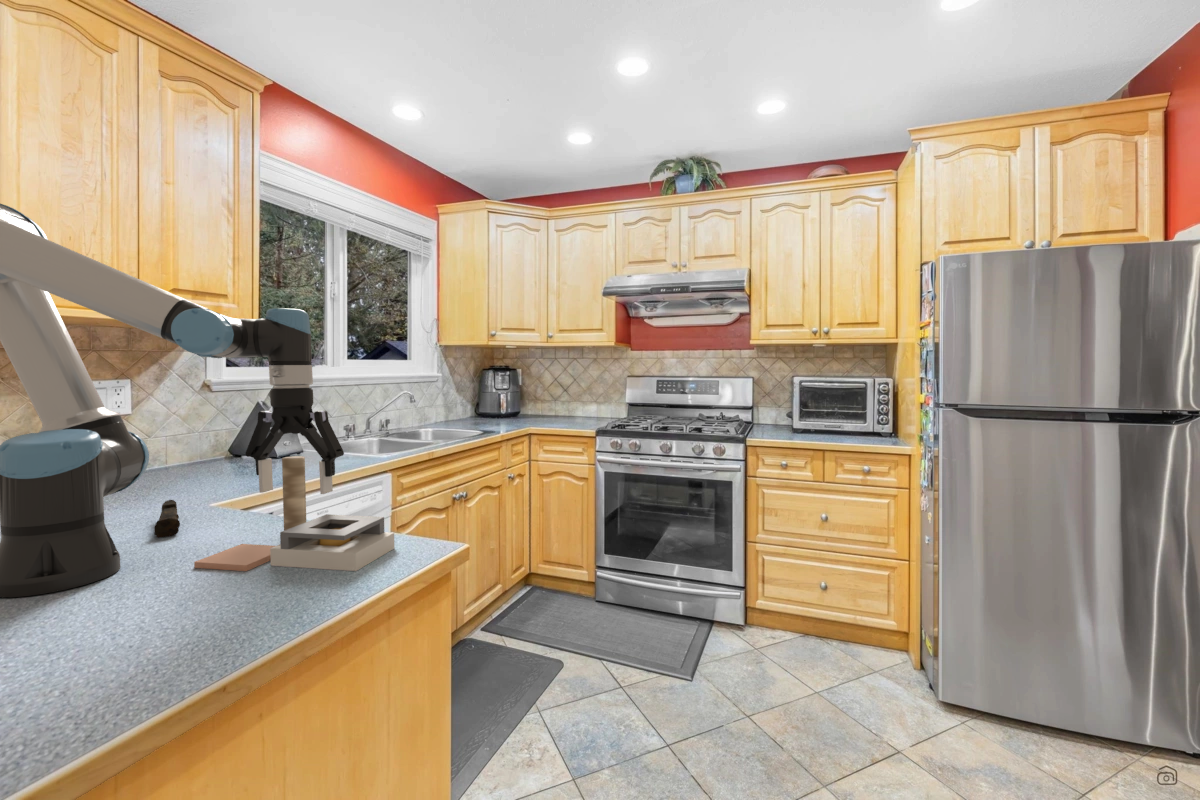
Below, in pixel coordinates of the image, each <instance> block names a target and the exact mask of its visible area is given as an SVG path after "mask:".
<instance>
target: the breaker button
mask: <svg viewBox="0 0 1200 800" xmlns="http://www.w3.org/2000/svg"><path fill="white" fill-rule="evenodd" d="M334 529H336V530H340V529H342V528H334ZM319 541H320V545H327V546H341V545H343V544H345V543H347V542H349V541H350V538H348V539H346V540H329V539H319Z"/></svg>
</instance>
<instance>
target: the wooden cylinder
mask: <svg viewBox="0 0 1200 800" xmlns="http://www.w3.org/2000/svg"><path fill="white" fill-rule="evenodd" d="M281 468H282V469H281V470H282V473H281V474H282V475H281V476H282V504H283V505H282V506H283V531H285V530H287V529H290V528H292V527H295V526H298V525H300V524H303V523H305V522H307V495H306V494H307V493H306V458H305V456H301V455H297V456H295V455H294V456H285V457H282V458H281Z"/></svg>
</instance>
